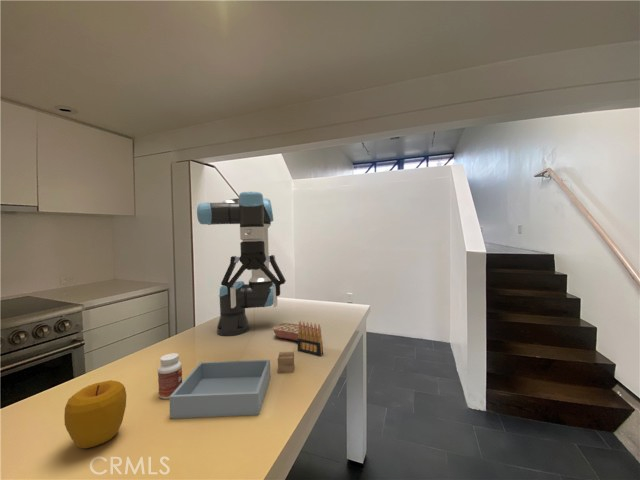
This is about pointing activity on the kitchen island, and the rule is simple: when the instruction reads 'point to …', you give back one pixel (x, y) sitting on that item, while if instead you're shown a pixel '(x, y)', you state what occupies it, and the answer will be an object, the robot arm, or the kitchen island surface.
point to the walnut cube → (286, 362)
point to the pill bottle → (169, 375)
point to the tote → (222, 389)
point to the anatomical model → (288, 331)
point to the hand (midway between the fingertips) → (254, 306)
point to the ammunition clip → (310, 339)
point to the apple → (95, 413)
